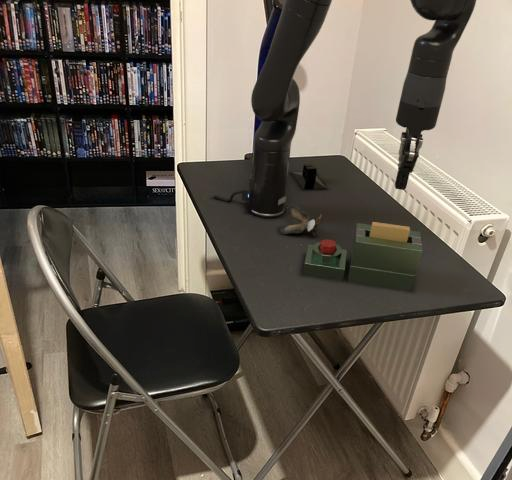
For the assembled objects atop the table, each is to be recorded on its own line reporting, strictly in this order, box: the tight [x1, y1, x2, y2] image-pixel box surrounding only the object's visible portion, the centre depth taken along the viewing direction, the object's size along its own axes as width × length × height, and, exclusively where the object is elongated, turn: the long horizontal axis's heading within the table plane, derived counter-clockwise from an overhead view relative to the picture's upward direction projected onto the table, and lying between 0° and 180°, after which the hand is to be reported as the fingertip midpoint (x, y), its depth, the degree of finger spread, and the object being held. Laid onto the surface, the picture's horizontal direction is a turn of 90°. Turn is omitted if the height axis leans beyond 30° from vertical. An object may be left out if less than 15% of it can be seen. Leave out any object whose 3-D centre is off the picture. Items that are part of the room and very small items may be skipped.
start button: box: [319, 238, 337, 253], centre depth 127 cm, size 4×4×2 cm
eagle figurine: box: [279, 203, 323, 238], centre depth 141 cm, size 8×7×9 cm
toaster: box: [347, 222, 423, 292], centre depth 126 cm, size 14×9×10 cm, turn 80°
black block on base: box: [291, 163, 327, 191], centre depth 168 cm, size 12×7×5 cm, turn 14°
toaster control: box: [302, 241, 348, 282], centre depth 129 cm, size 9×9×5 cm
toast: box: [369, 221, 411, 243], centre depth 124 cm, size 8×2×8 cm, turn 81°
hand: (399, 188), depth 116 cm, fingers closed
